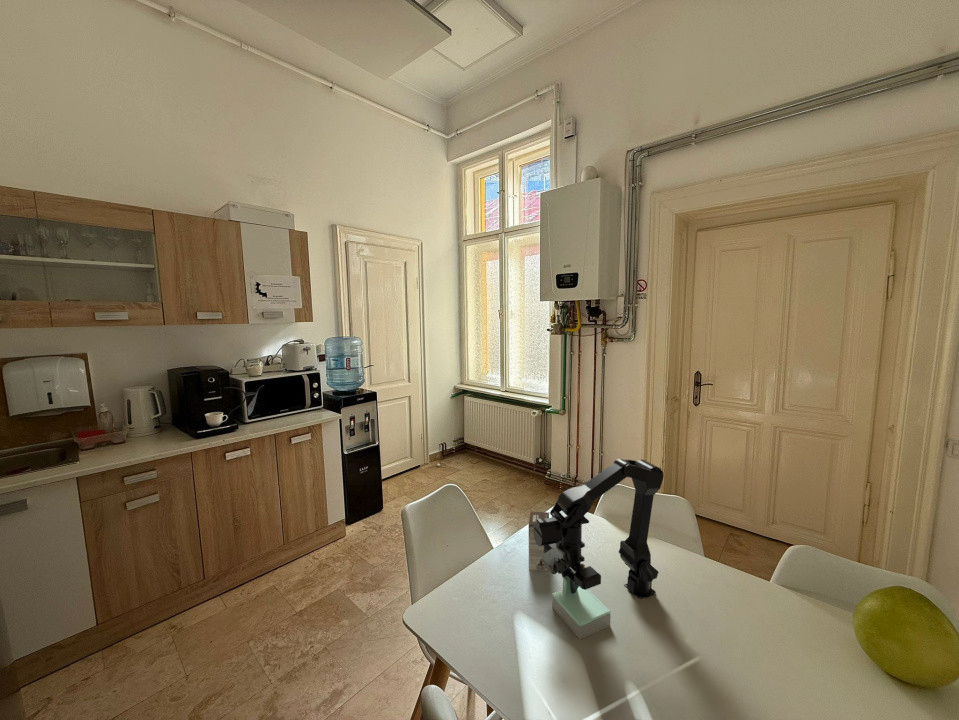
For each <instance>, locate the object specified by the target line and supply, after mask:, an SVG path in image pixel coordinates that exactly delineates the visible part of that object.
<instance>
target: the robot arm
mask: <svg viewBox="0 0 959 720" xmlns="http://www.w3.org/2000/svg"><path fill="white" fill-rule="evenodd" d="M626 478H629V479H631V480H632V483H633V487H634V490H635V493H634V499H633V505H632V512H631V513H632V514H631V519H630V520H631V521H630V527H629V528H630V529H629V532H628V533H629V535H628V537H626V539H624V540H620V542H619V550H618V554H619V557H620V559H621V560H622V561H623V562H624V564H625V566H627V567H628V568H629V570H628V575H627V583H625V584H623V586H624V587H625V588H626V589H627V590H628V591H629V592H630V593H631V594H632V595H635V596H636V597H637V598H638V599H640V600H642V599H644V598H645V599H647V598H649V597H651V596H654V595H655V594H656V593H657V592H656V590H655V589H653V588H652V585H653V584H652V582H654V580H657V578H658V575H659V571H658V570H657V569H656V568H655V567H654V566H653V565H652V564H651V563H652V559H651V558H652V557H651V556H652V555H651V551H650V548H649V545H648V538H649V529H650V523H651V517H652V509H653V502H654V495H656V493H658V491H659V490H661V487H662V484H663V481H664V471H663V470H662V469H661V468H660V467H659V466H657V465H654V464H653V463H651V462H649V461H647V460H645V459H638V460H633V459H623V458H617V459H615V460H614V461H613V463H612V464H611V465H609V466H608V467H606V468H605V469H603V470H602V471H601V472H600V473H598V474H596V475H595V476H594V477H592V478H590V480H588V481H586V482H585V483H584V484H581V485H579V486H575V487H574V486H573V487H570V488H568V489H567V490H565V491H563V492H561V493H560V494H559V495H558V497H557V501H556V502H555V504H554V505H553V507H552V509H551V510H550V511H549V515H550V516H551V517H549V518H546V519H537V523H535V524H534V527H533V534H534V539H535V541H536V543H537V545H538V546H544V553H545V554H543V555H542V560H543V563H544V566H545V568H547V569H548V572H550V574H551V575H556V574H559V575H561V576H562V577H561V578H563V577H565V576H568V577H569V578H570V586H571V593H572V594H574V593H575V592H576V591H577V589H578V587H579V586H580V587H581V588H582V589H584V590H586V589H588V590H589V589H591V588H594V587H597V586H599V585H601V584H602V574H600V573H599V572H597V570H596V569H594V568H593V567H592V566H591V565H589V566H586V564H584V563H582V562H585V560H586V559H585V556H584V555H583V554H582V548H583V549H584V548H585V547H586V544H585V542H584V541H582V536H583V535H582V533H583V530H582V529H583V528H582V527H583V525H585V524H589V523H590V520H589V519H588V518H587V517H586V516H585V515H586V514H587V513H588V512H589V511H590V510H591V508H592V506H593V504H594V502H595V501H596V500H598V499H599V498H600V497H602V496H603V495H605V494H606V493H607V492H608V491H610V490H611V489H612V488H614V487H615V486H617V485H618V484H619V483H621V482H622V481H624V480H626ZM561 512H563V513H564V514H565V515H563V514H562V513H561Z"/></svg>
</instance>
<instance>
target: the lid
mask: <svg viewBox="0 0 959 720" xmlns="http://www.w3.org/2000/svg"><path fill="white" fill-rule="evenodd" d="M552 596H553V597H554V598H555V600H556V601H557V602H558V603H559V604H560V605H561V606H562V607H563V608H564V610H565V611H566V612H567V613H568V614H569V615H570V616H571V617H572V618H573V619H574V621H575V622H576V623H577V624H578V625H579V626H583V625H585V624H587V623H590V622H592V621H594V620H596V619H599V618H601V617H603V616H606V615H608V614H610V615H611V610H610V609H609V608H608V607H607V606H606V605H605V604H604V603H603V602H602V601H601V600H599V599H598V598H597V597H596V596H595V595H594V593H592V592H591V591H590V590H589V589H586V590H584V589H582V588H581V587H580V586H579V587H578V589H577V591H576V592H575V593H574V594H572V593H571V586H570V578H569V577H568V576H565V577H562V589H560V590H558V591H555V592H553V593H551V597H552Z"/></svg>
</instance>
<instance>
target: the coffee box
mask: <svg viewBox="0 0 959 720" xmlns="http://www.w3.org/2000/svg"><path fill="white" fill-rule="evenodd" d="M546 518H550V511H549V512H547V511H530V514H529V520H528V571H533V570H534V571H545V572H549V570H548V569H547V568H545V566H544V563H543V560H542V555H543V554H545V553H544V546H538V545H537V543H536V541H535V539H534V534H533V527H534V524H535V523H537V519H546Z"/></svg>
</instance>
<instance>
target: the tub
mask: <svg viewBox="0 0 959 720" xmlns="http://www.w3.org/2000/svg"><path fill="white" fill-rule="evenodd" d="M551 597H552V601H551V603H552V604H551V607H552V609H553V610H554V612H555V613H556V614H557V615H558V616H559V617H560V619H561V620H562V621H563V622H564V623H565V624H566V625H567V627H568V628H569V629H570V630H571V631H572V633H574V635H575V636H576V637H577V639H579V640H582V639H584V638H587V637H588V636H591V635H593V634H596V633H598V632H600V631H602V630H604V629H607V628H609V627H611V613H610V614H608V615H606V616H603V617H601V618H599V619H596V620H594V621H592V622H590V623H587V624H585V625H583V626H579V625H578V624H577V623H576V622H575V621H574V619H573V618H572V617H571V616H570V615H569V614H568V613H567V612H566V611H565V610H564V608H563V607H562V606H561V605H560V604H559V603H558V602H557V601H556V600H555V598H554V597H553V596H552V595H551Z"/></svg>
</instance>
